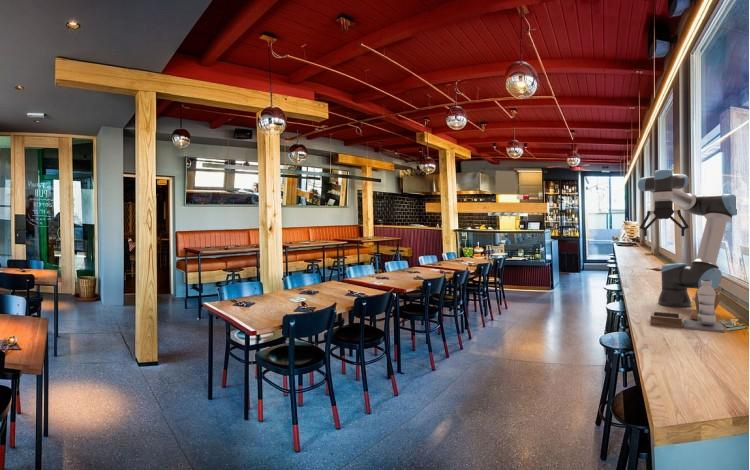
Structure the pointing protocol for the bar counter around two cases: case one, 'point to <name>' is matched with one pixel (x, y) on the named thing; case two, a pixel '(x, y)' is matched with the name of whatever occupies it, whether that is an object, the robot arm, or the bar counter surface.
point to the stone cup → (695, 312)
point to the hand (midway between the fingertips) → (663, 242)
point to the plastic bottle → (706, 303)
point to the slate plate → (702, 326)
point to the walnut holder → (666, 319)
